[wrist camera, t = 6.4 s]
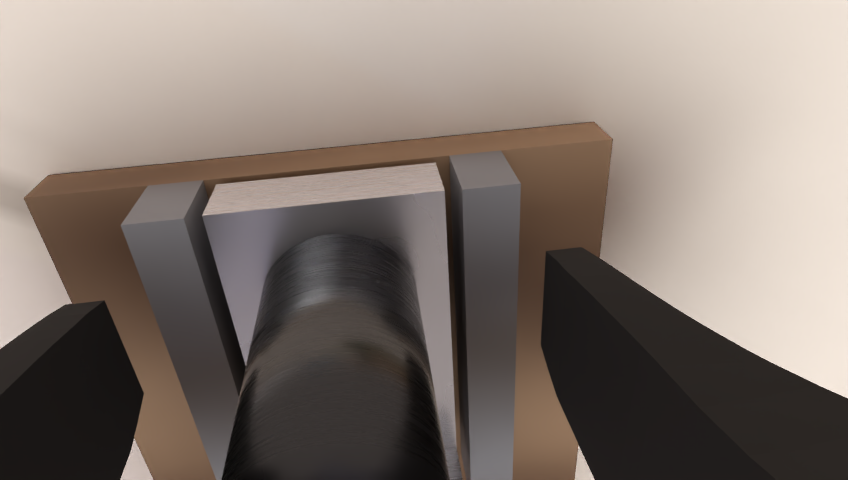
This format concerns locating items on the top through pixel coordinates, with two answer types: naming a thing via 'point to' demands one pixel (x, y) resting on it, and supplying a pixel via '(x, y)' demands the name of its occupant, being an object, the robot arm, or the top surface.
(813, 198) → the top surface
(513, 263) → the bench
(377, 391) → the ram
